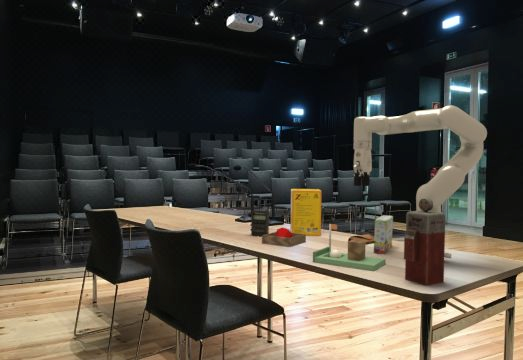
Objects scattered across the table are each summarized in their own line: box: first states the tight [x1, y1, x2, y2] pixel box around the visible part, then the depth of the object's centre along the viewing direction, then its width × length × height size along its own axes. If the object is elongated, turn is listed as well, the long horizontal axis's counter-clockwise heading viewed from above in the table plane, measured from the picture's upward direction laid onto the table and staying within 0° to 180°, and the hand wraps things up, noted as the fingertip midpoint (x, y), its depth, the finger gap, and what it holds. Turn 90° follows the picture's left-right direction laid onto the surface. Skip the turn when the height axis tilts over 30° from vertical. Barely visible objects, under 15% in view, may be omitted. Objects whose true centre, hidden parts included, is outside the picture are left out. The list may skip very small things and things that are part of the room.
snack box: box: [373, 214, 394, 255], centre depth 198 cm, size 21×6×15 cm, turn 155°
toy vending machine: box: [403, 198, 446, 286], centre depth 143 cm, size 9×11×28 cm
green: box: [312, 223, 386, 272], centre depth 170 cm, size 25×14×14 cm, turn 56°
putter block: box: [347, 240, 366, 261], centre depth 168 cm, size 5×6×7 cm
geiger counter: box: [250, 207, 270, 238], centre depth 232 cm, size 10×4×15 cm, turn 72°
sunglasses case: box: [347, 233, 374, 246], centre depth 216 cm, size 18×7×7 cm
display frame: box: [261, 231, 307, 248], centre depth 213 cm, size 16×16×4 cm
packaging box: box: [289, 188, 322, 237], centre depth 242 cm, size 16×16×25 cm
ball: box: [329, 248, 342, 258], centre depth 172 cm, size 5×5×5 cm
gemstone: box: [275, 227, 292, 238], centre depth 211 cm, size 9×9×10 cm
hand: (361, 185), depth 184 cm, fingers open, 9 cm apart
